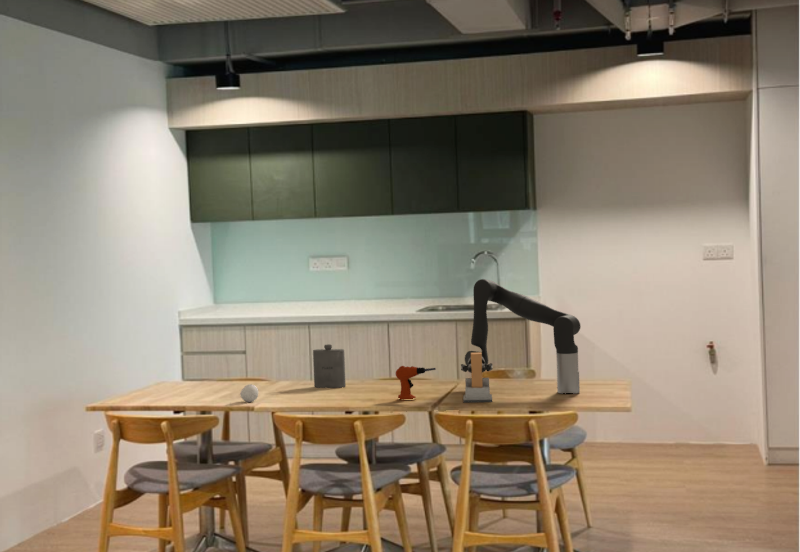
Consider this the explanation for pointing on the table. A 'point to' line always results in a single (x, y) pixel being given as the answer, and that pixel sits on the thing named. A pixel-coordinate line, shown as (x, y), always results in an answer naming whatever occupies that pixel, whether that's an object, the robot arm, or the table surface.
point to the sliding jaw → (484, 381)
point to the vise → (477, 394)
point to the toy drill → (406, 383)
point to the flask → (329, 367)
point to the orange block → (476, 369)
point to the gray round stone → (249, 393)
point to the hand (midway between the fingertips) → (476, 370)
